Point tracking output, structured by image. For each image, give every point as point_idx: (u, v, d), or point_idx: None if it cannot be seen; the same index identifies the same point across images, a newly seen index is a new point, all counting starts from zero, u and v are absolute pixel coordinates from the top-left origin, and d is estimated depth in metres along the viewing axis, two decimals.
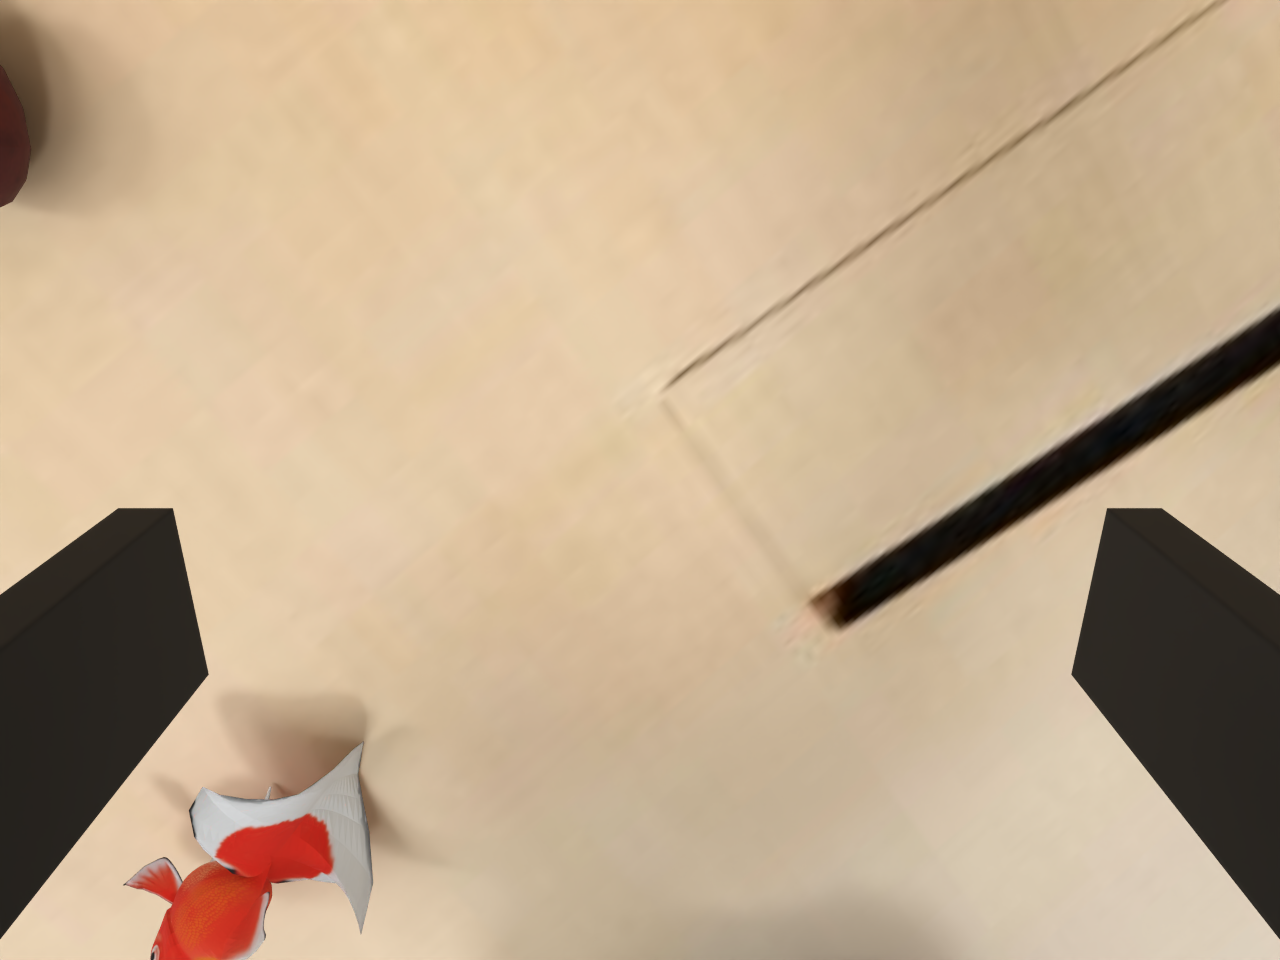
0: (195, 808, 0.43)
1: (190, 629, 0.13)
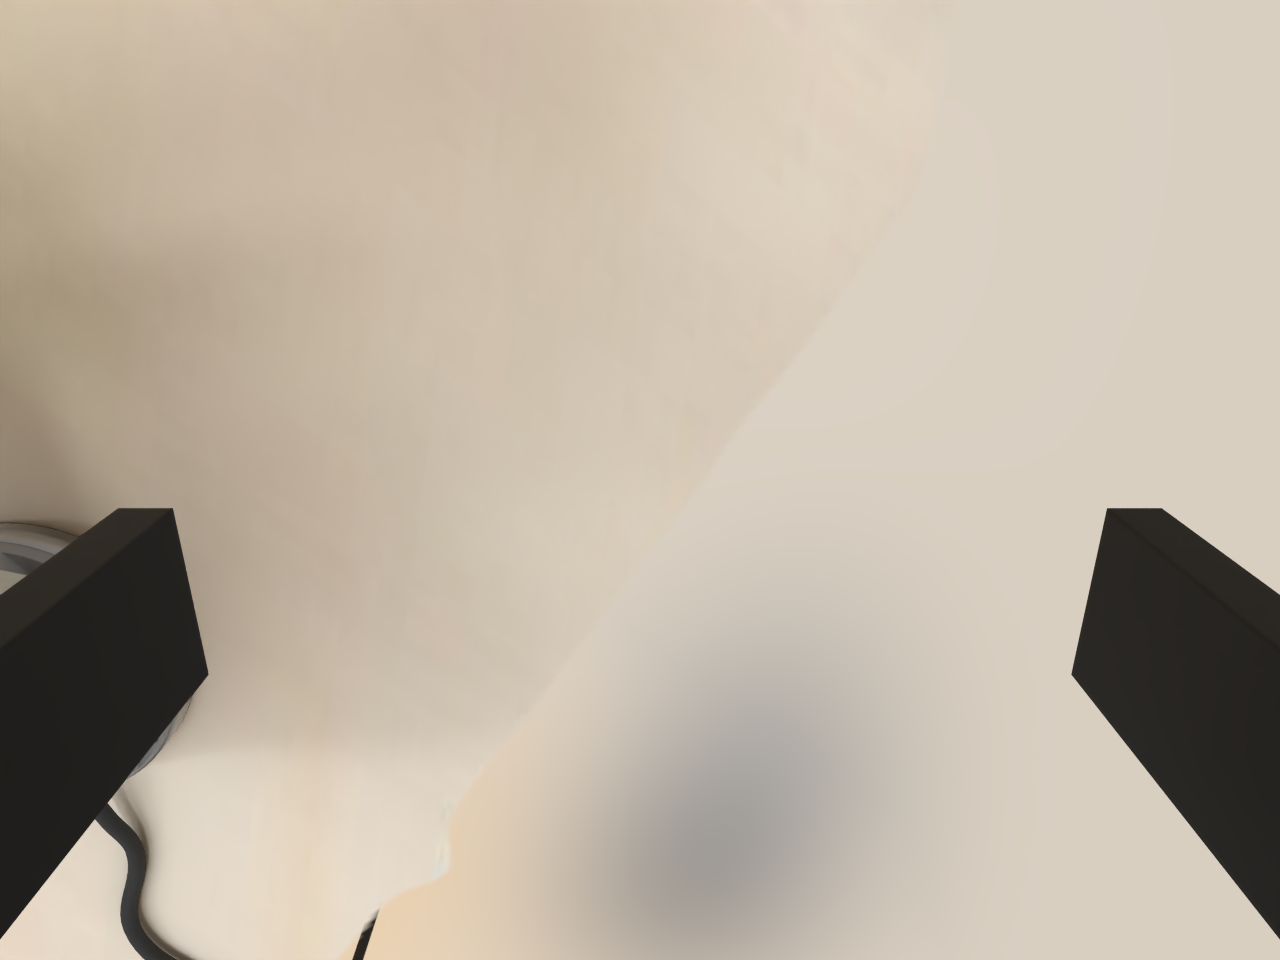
0: None
1: (190, 629, 0.13)
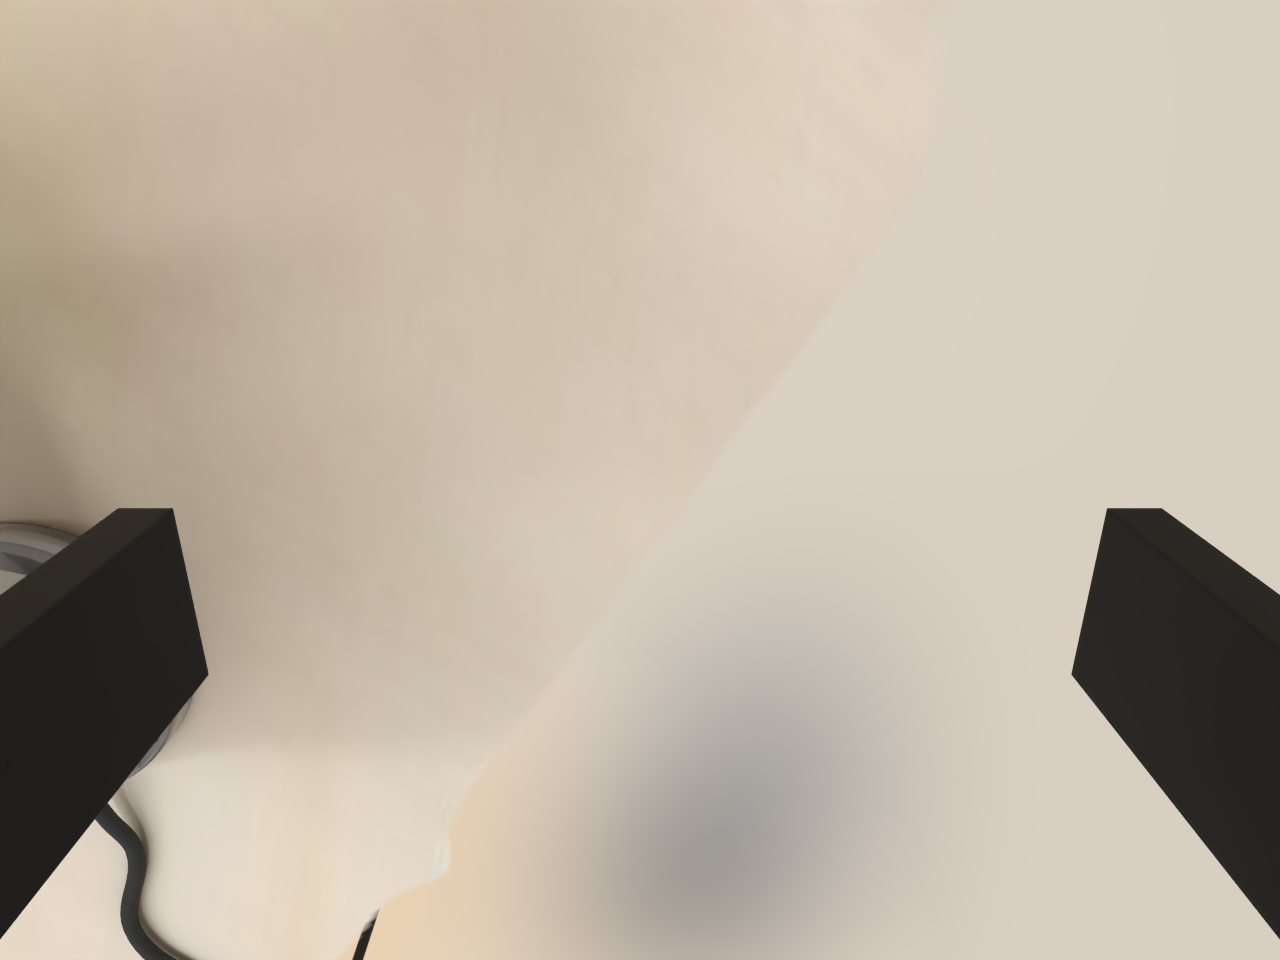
0: None
1: (190, 629, 0.13)
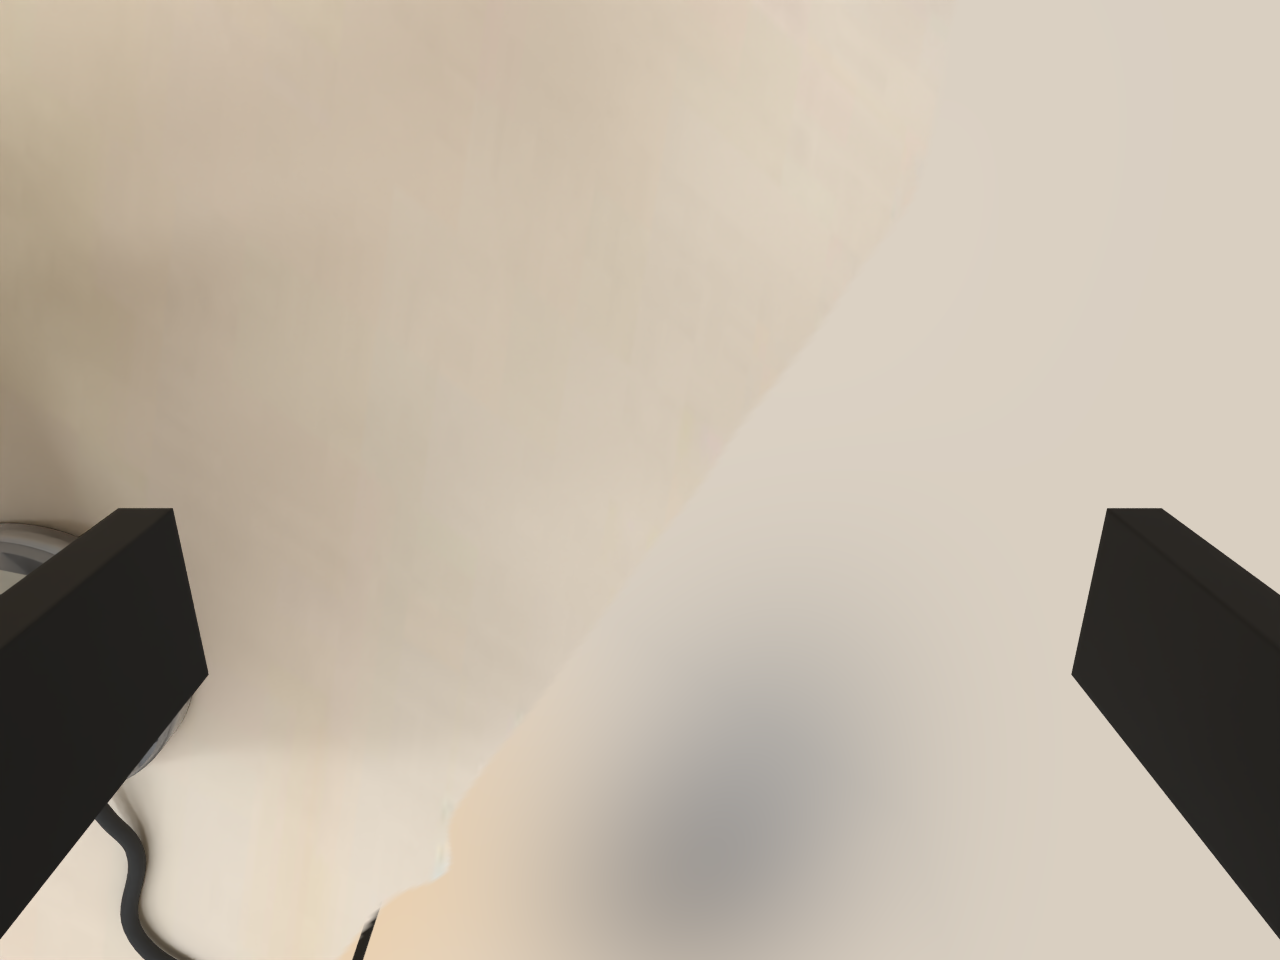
0: None
1: (190, 629, 0.13)
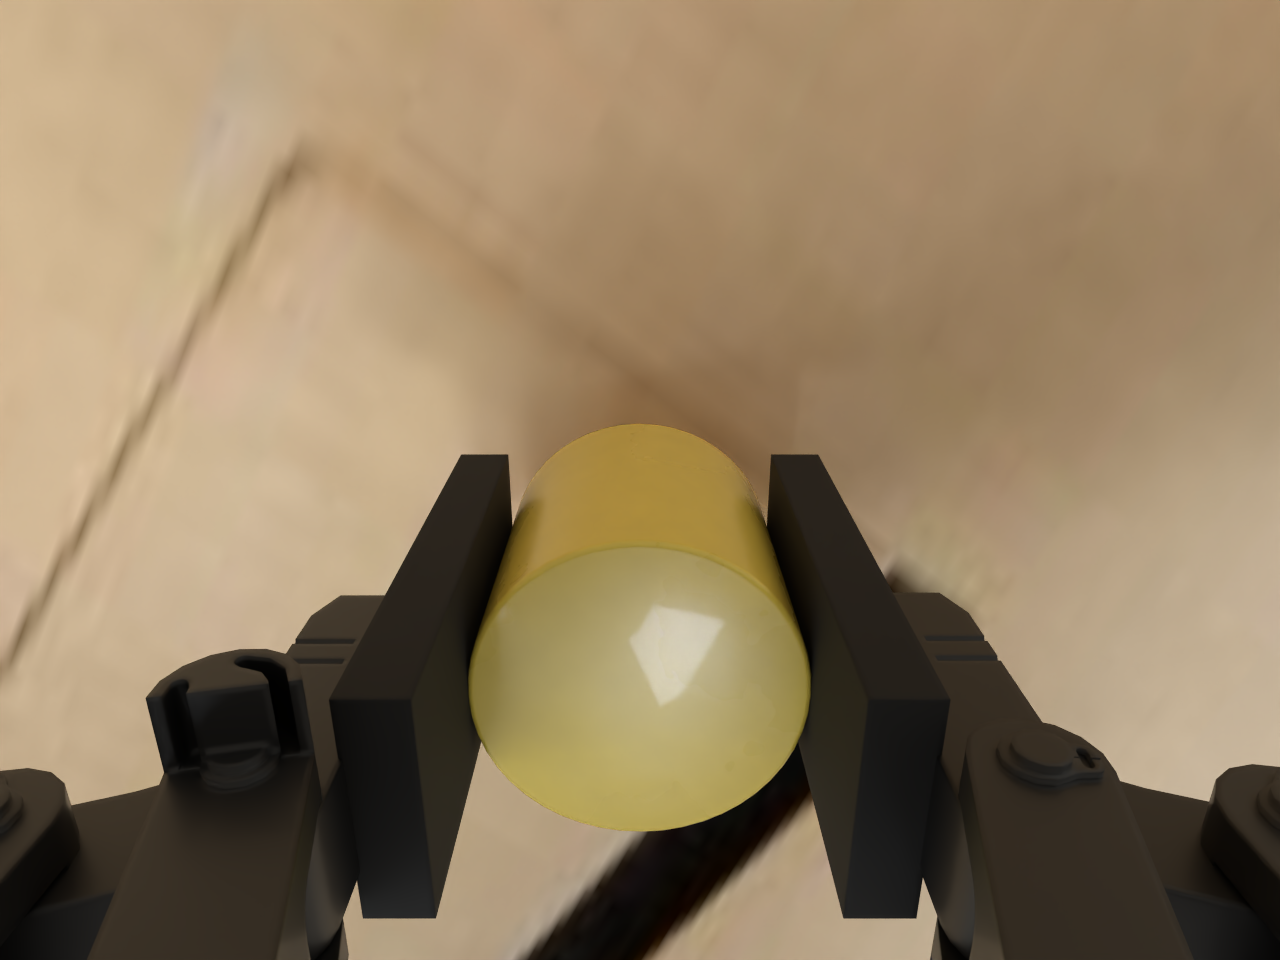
0: None
1: None
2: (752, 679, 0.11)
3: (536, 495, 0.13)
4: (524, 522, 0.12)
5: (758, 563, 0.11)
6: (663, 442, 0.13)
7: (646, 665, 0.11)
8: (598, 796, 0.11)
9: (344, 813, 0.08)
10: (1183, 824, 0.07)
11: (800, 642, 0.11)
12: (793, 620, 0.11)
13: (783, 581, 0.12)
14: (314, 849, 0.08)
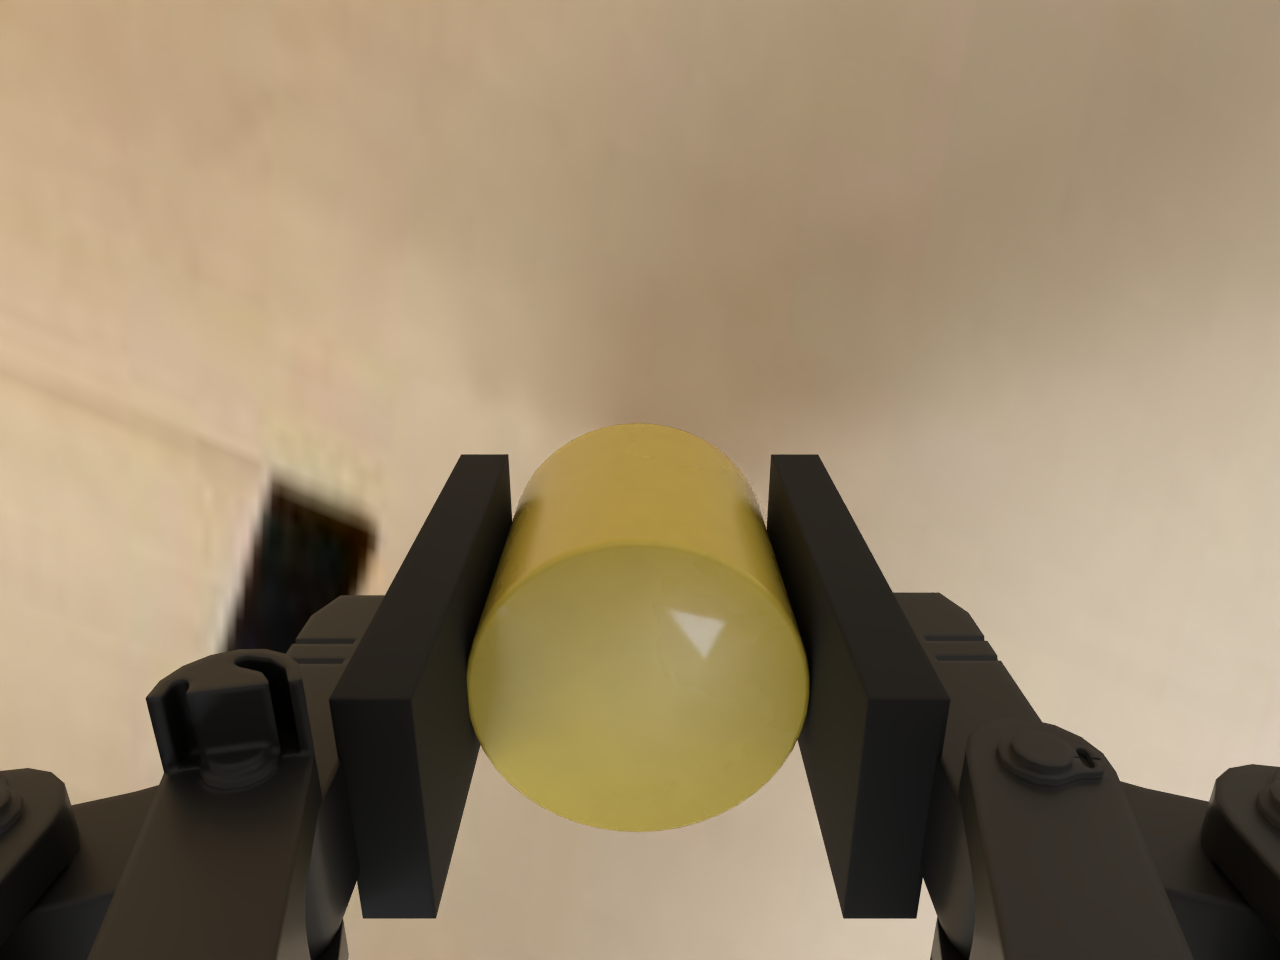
0: None
1: None
2: (750, 679, 0.11)
3: (534, 495, 0.13)
4: (522, 522, 0.12)
5: (756, 563, 0.11)
6: (662, 441, 0.13)
7: (644, 666, 0.11)
8: (596, 796, 0.11)
9: (344, 813, 0.08)
10: (1184, 825, 0.07)
11: (798, 642, 0.10)
12: (791, 620, 0.10)
13: (782, 581, 0.12)
14: (315, 849, 0.08)
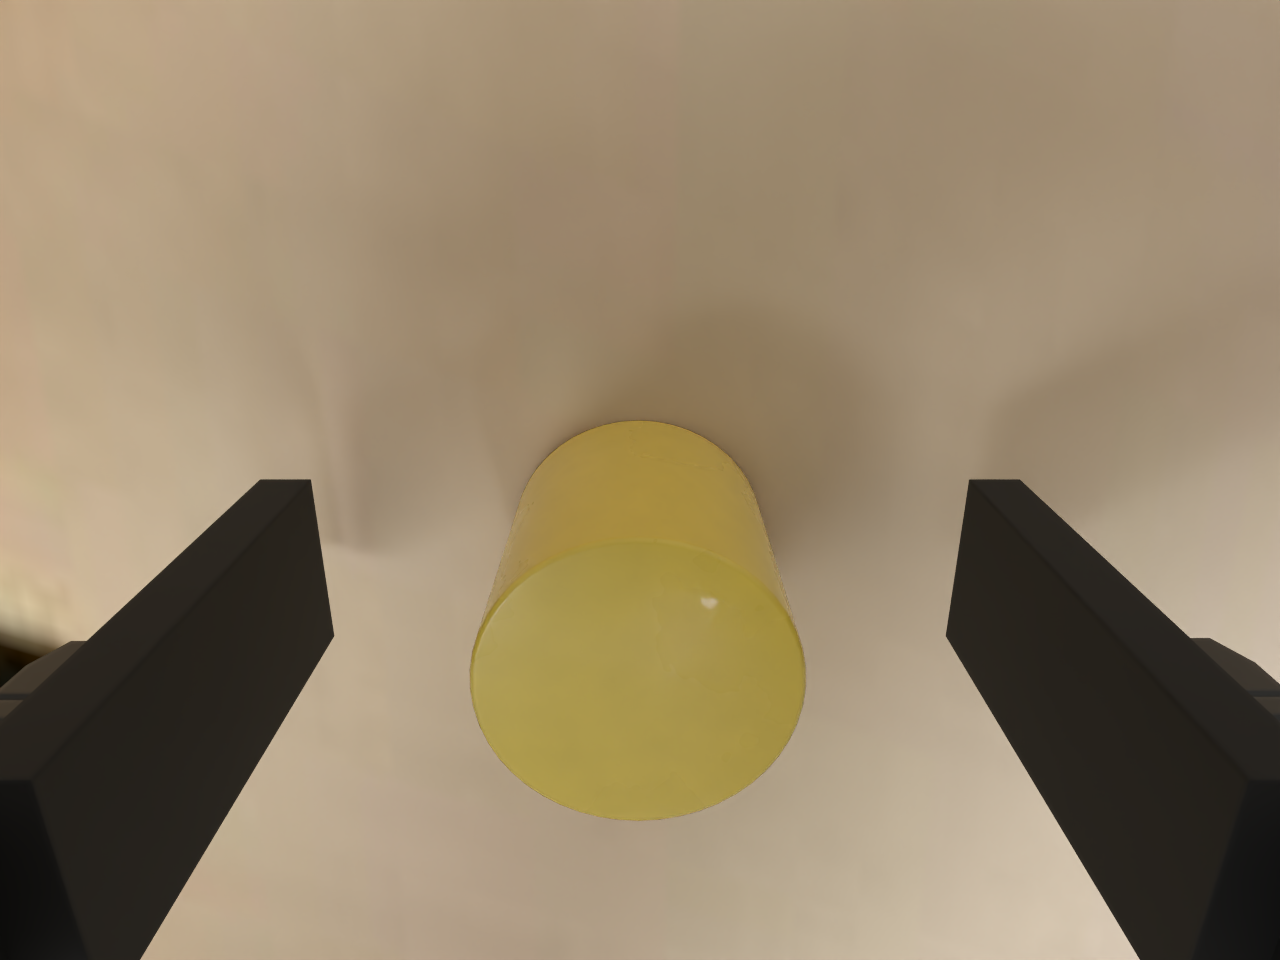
0: None
1: (322, 592, 0.14)
2: (747, 672, 0.11)
3: (537, 491, 0.13)
4: (525, 518, 0.13)
5: (754, 559, 0.11)
6: (662, 439, 0.14)
7: (644, 658, 0.11)
8: (597, 785, 0.12)
9: None
10: None
11: (795, 636, 0.11)
12: (788, 615, 0.11)
13: (779, 576, 0.12)
14: None
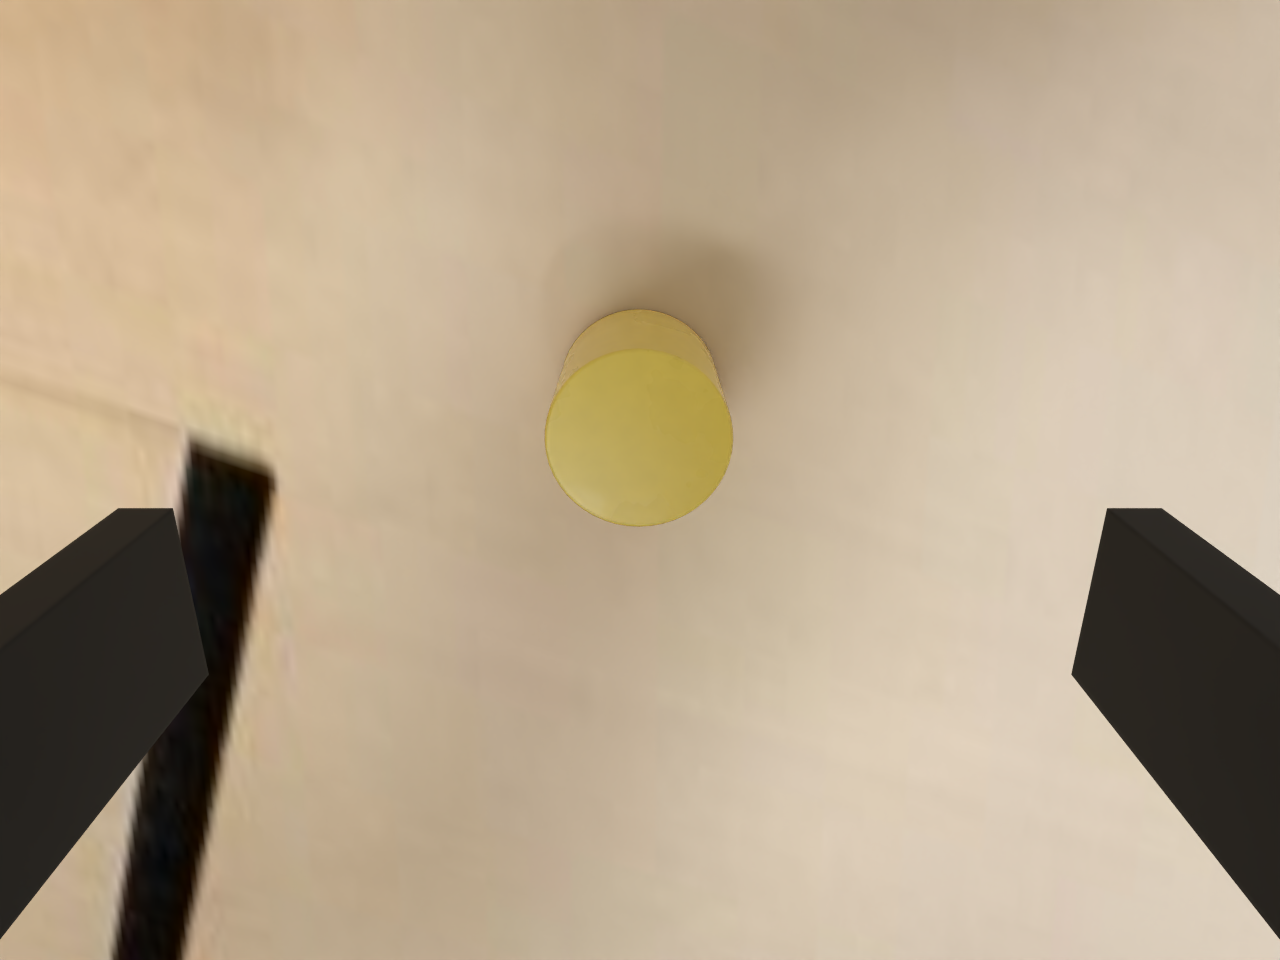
0: None
1: (190, 629, 0.13)
2: (700, 430, 0.20)
3: (577, 346, 0.22)
4: (572, 358, 0.21)
5: (703, 368, 0.20)
6: (653, 317, 0.22)
7: (642, 422, 0.20)
8: (615, 503, 0.20)
9: None
10: None
11: (725, 408, 0.19)
12: (721, 396, 0.19)
13: (720, 386, 0.21)
14: None
